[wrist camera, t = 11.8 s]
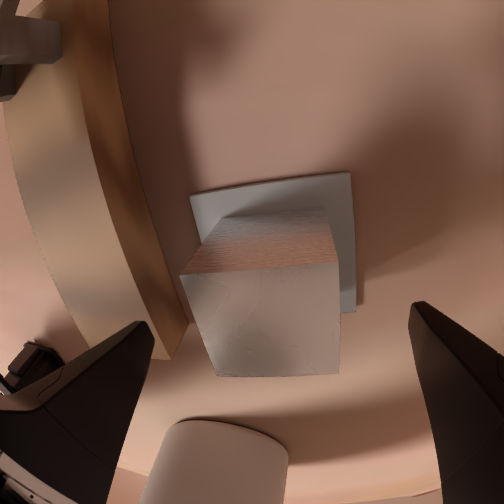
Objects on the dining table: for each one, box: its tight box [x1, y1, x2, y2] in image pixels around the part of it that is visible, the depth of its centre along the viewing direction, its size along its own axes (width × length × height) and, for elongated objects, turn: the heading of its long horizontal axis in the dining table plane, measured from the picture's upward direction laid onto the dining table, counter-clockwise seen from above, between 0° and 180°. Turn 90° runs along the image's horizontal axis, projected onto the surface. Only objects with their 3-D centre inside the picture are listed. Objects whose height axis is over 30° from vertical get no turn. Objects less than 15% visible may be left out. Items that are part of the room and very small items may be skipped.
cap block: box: [179, 205, 340, 377], centre depth 11 cm, size 4×4×5 cm
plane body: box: [0, 0, 189, 360], centre depth 10 cm, size 20×6×7 cm, turn 11°
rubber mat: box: [189, 172, 356, 314], centre depth 13 cm, size 7×7×1 cm
